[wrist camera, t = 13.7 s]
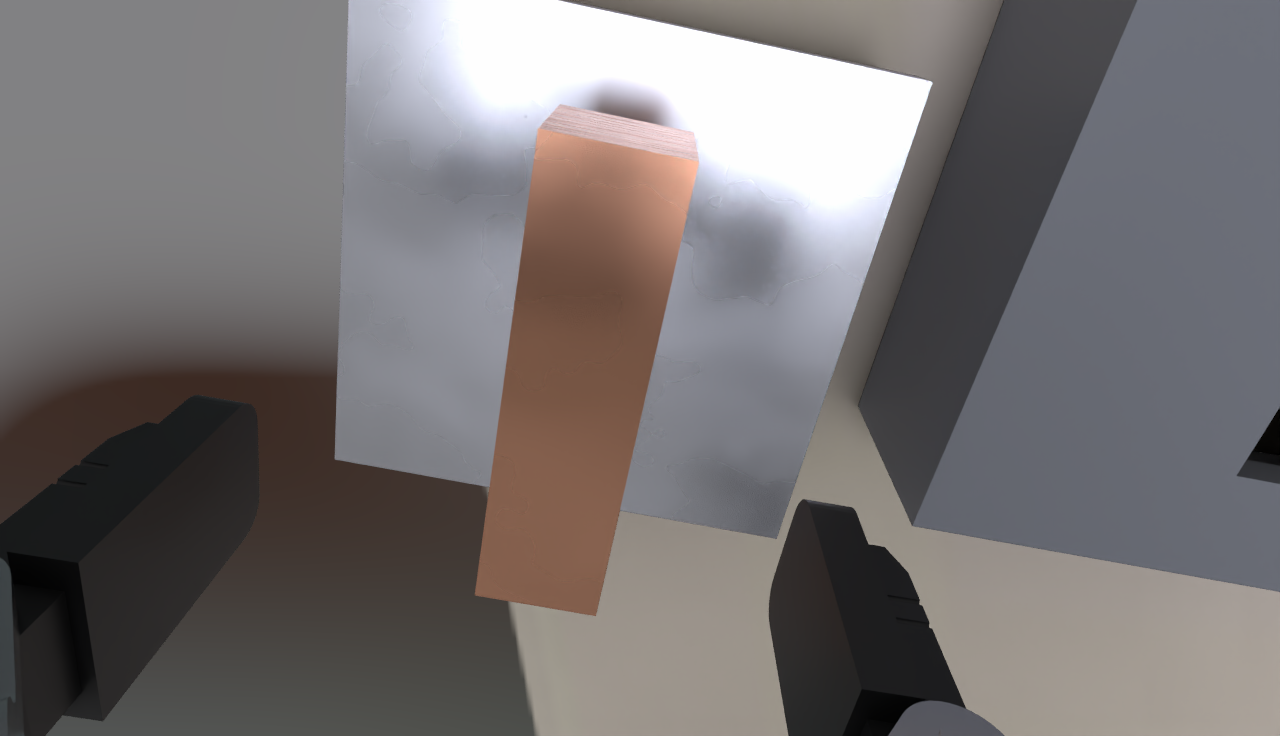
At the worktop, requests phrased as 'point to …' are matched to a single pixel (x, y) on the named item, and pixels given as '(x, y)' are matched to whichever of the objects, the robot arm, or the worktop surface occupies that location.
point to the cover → (599, 267)
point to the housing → (1100, 294)
